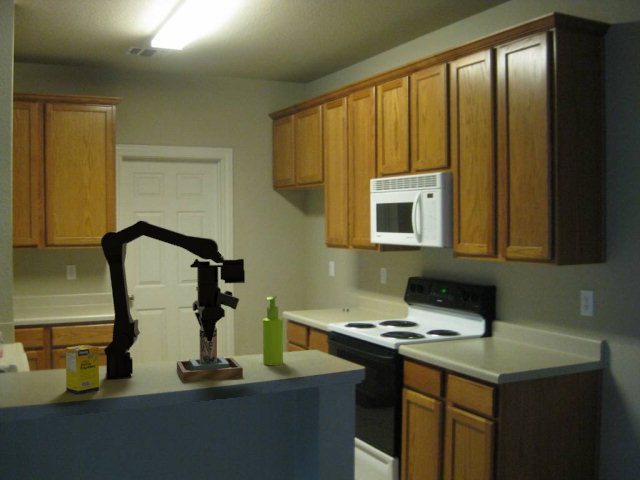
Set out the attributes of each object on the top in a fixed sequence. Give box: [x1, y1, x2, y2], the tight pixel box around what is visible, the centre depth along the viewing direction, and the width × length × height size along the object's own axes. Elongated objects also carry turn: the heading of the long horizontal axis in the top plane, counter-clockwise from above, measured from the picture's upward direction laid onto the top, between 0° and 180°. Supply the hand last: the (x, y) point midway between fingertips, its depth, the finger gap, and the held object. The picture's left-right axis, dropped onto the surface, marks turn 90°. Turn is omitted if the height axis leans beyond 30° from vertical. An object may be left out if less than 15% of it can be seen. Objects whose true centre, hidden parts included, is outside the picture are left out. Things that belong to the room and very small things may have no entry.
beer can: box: [199, 325, 218, 364], centre depth 190 cm, size 5×5×12 cm
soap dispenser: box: [262, 295, 284, 366], centre depth 203 cm, size 6×7×20 cm
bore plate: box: [189, 356, 229, 371], centre depth 190 cm, size 10×10×3 cm
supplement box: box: [65, 344, 100, 395], centre depth 172 cm, size 6×6×11 cm
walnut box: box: [176, 356, 244, 383], centre depth 190 cm, size 16×15×2 cm
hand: (208, 339), depth 190 cm, fingers closed on beer can, 5 cm apart
